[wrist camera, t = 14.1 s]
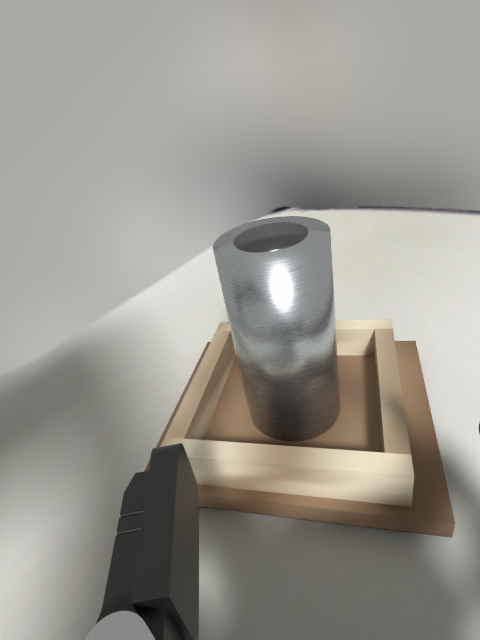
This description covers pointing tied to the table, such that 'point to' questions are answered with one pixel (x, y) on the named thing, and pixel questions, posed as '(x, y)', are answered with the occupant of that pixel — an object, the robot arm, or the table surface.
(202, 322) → the table surface
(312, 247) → the steel tube
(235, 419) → the wooden tray
